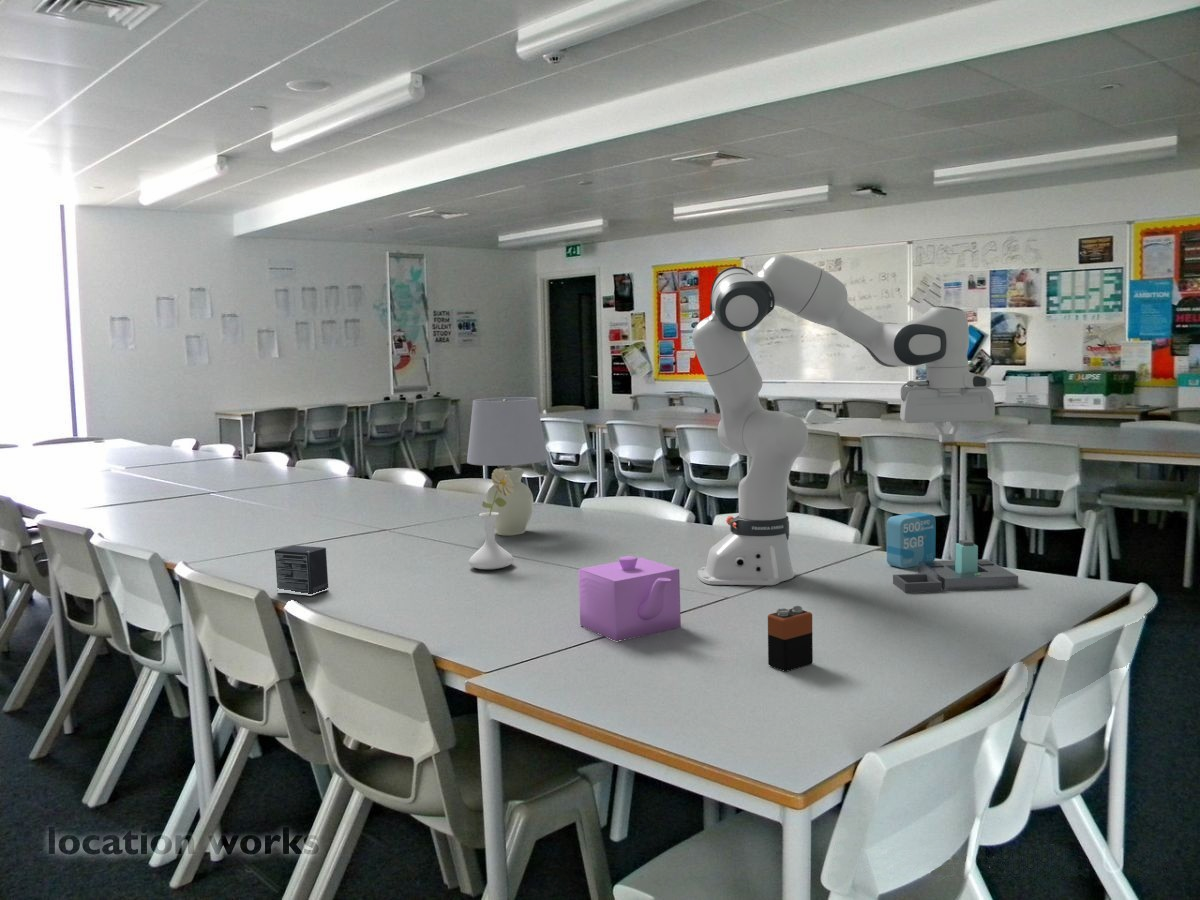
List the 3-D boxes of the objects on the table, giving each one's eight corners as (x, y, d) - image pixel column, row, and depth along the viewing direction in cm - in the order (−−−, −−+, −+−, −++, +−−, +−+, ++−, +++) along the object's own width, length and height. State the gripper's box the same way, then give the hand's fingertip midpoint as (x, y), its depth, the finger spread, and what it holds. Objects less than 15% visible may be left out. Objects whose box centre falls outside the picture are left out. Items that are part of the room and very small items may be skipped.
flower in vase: (485, 575, 232) (480, 474, 229) (460, 568, 240) (455, 470, 238) (528, 565, 240) (524, 468, 238) (502, 559, 249) (497, 464, 246)
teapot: (638, 652, 171) (635, 576, 170) (567, 620, 192) (565, 553, 191) (703, 636, 179) (702, 563, 178) (629, 607, 200) (627, 542, 199)
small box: (330, 590, 223) (327, 546, 221) (311, 597, 217) (308, 552, 216) (296, 586, 227) (293, 543, 226) (276, 593, 221) (273, 549, 220)
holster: (905, 592, 204) (905, 583, 204) (892, 583, 212) (892, 574, 212) (941, 591, 204) (941, 582, 204) (928, 582, 212) (928, 573, 212)
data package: (900, 569, 224) (900, 519, 223) (886, 566, 228) (886, 517, 227) (935, 562, 230) (936, 513, 229) (921, 559, 234) (921, 511, 233)
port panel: (944, 590, 205) (944, 577, 205) (918, 572, 221) (918, 560, 221) (1018, 587, 205) (1018, 575, 205) (986, 569, 221) (986, 558, 221)
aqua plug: (961, 581, 212) (961, 543, 211) (955, 577, 215) (955, 539, 214) (977, 581, 212) (977, 542, 211) (970, 577, 215) (971, 539, 214)
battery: (766, 666, 162) (766, 609, 161) (795, 657, 166) (795, 601, 164) (785, 673, 158) (784, 614, 157) (814, 664, 162) (813, 607, 161)
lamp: (548, 539, 271) (542, 400, 267) (464, 542, 272) (457, 403, 267) (553, 523, 295) (548, 395, 290) (476, 526, 295) (470, 398, 291)
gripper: (905, 382, 207) (905, 445, 208) (998, 378, 207) (997, 441, 209) (896, 381, 213) (895, 442, 215) (986, 377, 213) (985, 438, 215)
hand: (946, 441), depth 212 cm, fingers closed
